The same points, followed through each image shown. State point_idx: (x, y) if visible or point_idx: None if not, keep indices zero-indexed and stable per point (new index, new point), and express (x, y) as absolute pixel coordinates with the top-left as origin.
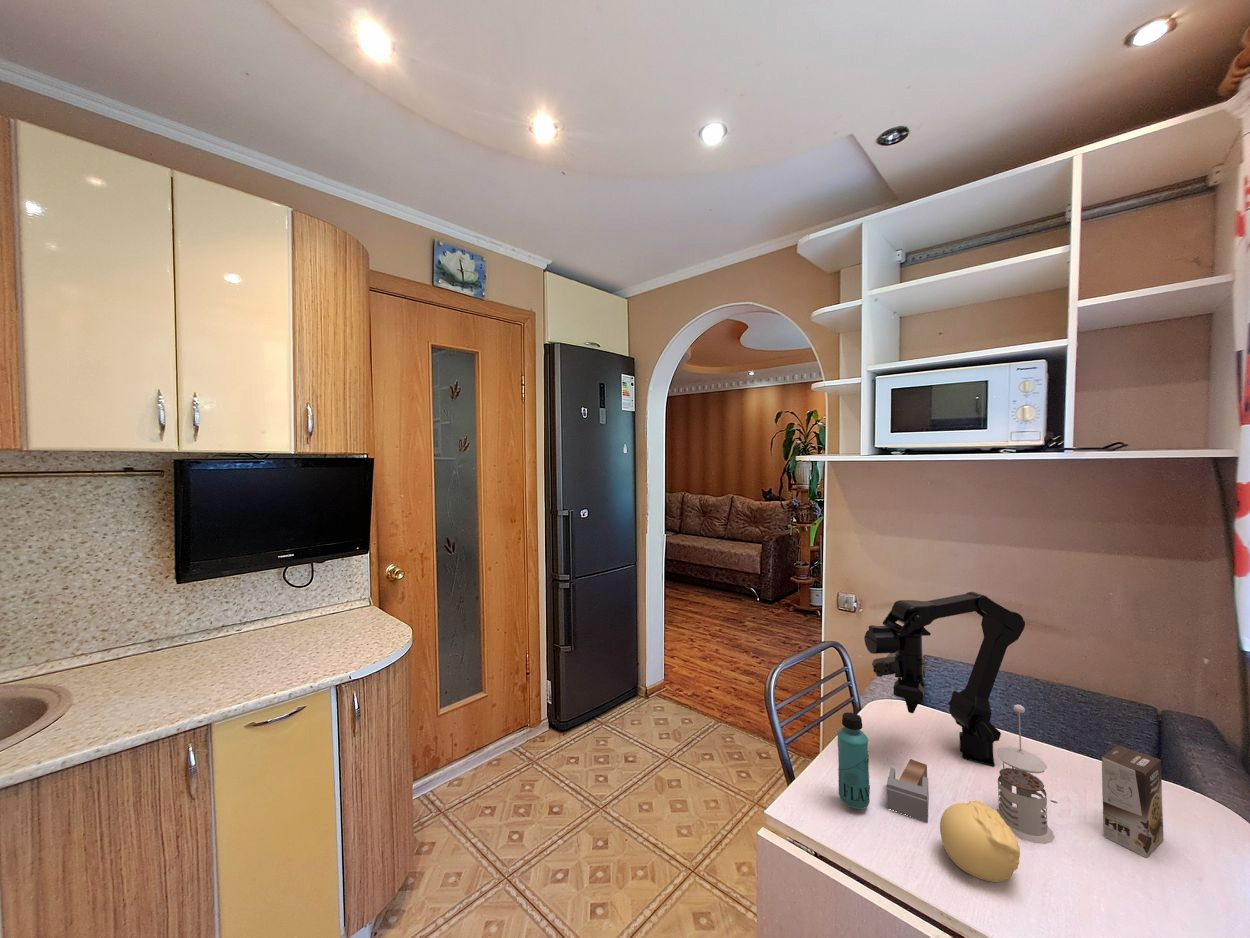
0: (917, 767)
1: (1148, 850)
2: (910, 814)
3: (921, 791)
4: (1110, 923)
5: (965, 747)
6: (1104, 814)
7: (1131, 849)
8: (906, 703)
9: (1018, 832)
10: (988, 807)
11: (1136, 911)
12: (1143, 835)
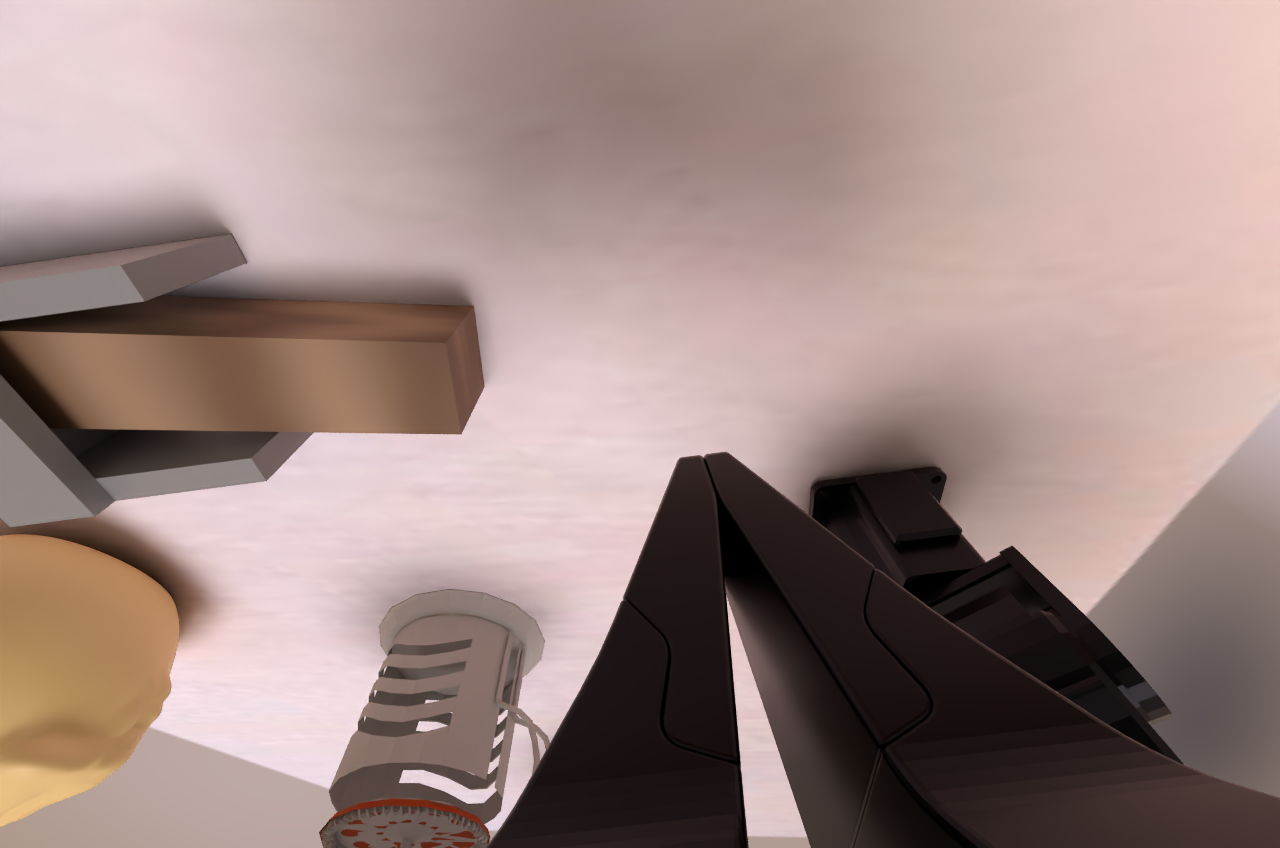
0: (374, 399)
1: None
2: None
3: (15, 500)
4: (232, 750)
5: (861, 518)
6: None
7: None
8: (640, 559)
9: (386, 650)
10: (6, 807)
11: (329, 769)
12: None
